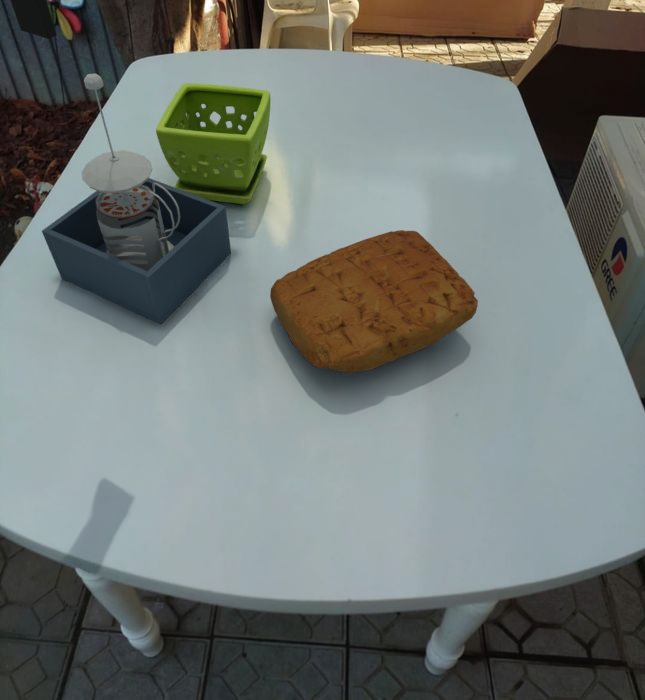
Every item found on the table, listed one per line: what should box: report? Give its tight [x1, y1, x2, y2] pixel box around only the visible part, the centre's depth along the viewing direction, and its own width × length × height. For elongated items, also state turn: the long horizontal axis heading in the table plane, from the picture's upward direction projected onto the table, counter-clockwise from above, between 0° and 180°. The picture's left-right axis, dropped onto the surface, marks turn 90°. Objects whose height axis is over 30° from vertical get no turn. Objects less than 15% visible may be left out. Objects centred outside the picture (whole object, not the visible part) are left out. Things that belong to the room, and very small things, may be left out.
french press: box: [81, 73, 180, 271], centre depth 70 cm, size 10×12×25 cm
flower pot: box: [155, 82, 271, 206], centre depth 88 cm, size 14×14×13 cm
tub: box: [41, 177, 232, 325], centre depth 77 cm, size 17×16×8 cm
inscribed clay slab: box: [269, 229, 479, 374], centre depth 71 cm, size 22×17×8 cm
